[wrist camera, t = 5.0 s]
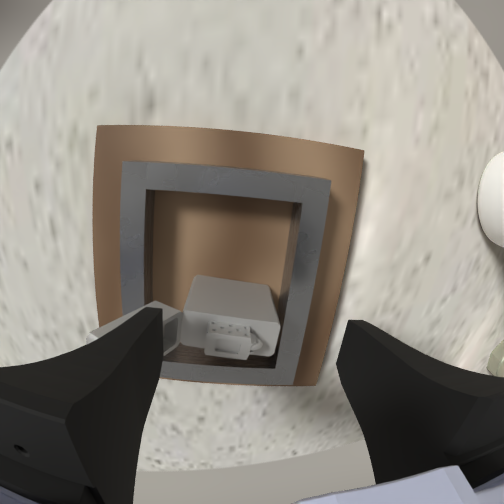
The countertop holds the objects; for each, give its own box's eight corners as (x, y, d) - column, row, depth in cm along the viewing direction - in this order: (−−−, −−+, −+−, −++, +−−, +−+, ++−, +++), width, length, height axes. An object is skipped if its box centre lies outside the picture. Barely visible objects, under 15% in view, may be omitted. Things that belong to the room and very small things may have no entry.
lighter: (270, 285, 17) (296, 377, 10) (264, 313, 18) (284, 414, 10) (140, 265, 17) (79, 342, 9) (139, 294, 17) (84, 382, 9)
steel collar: (136, 353, 18) (128, 372, 16) (134, 160, 15) (122, 161, 13) (286, 364, 19) (292, 385, 17) (319, 177, 16) (331, 180, 14)
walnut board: (109, 361, 19) (105, 370, 18) (104, 126, 15) (97, 125, 14) (312, 376, 21) (315, 385, 20) (357, 150, 17) (364, 150, 16)
